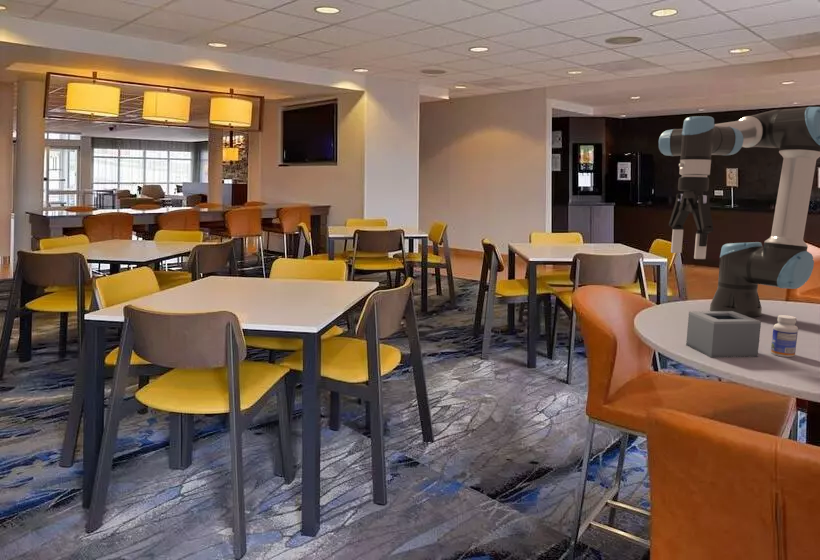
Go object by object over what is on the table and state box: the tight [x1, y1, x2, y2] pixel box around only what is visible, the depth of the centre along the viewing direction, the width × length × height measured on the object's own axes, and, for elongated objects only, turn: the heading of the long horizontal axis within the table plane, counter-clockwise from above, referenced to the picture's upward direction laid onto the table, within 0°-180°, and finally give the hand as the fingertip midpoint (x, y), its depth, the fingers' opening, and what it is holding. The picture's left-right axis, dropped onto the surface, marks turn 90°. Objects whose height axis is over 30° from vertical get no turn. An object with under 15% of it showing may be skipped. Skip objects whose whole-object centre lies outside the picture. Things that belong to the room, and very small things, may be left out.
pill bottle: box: [770, 314, 799, 358], centre depth 164 cm, size 5×5×10 cm
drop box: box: [685, 310, 762, 359], centre depth 167 cm, size 12×12×9 cm
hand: (687, 255), depth 179 cm, fingers open, 13 cm apart
